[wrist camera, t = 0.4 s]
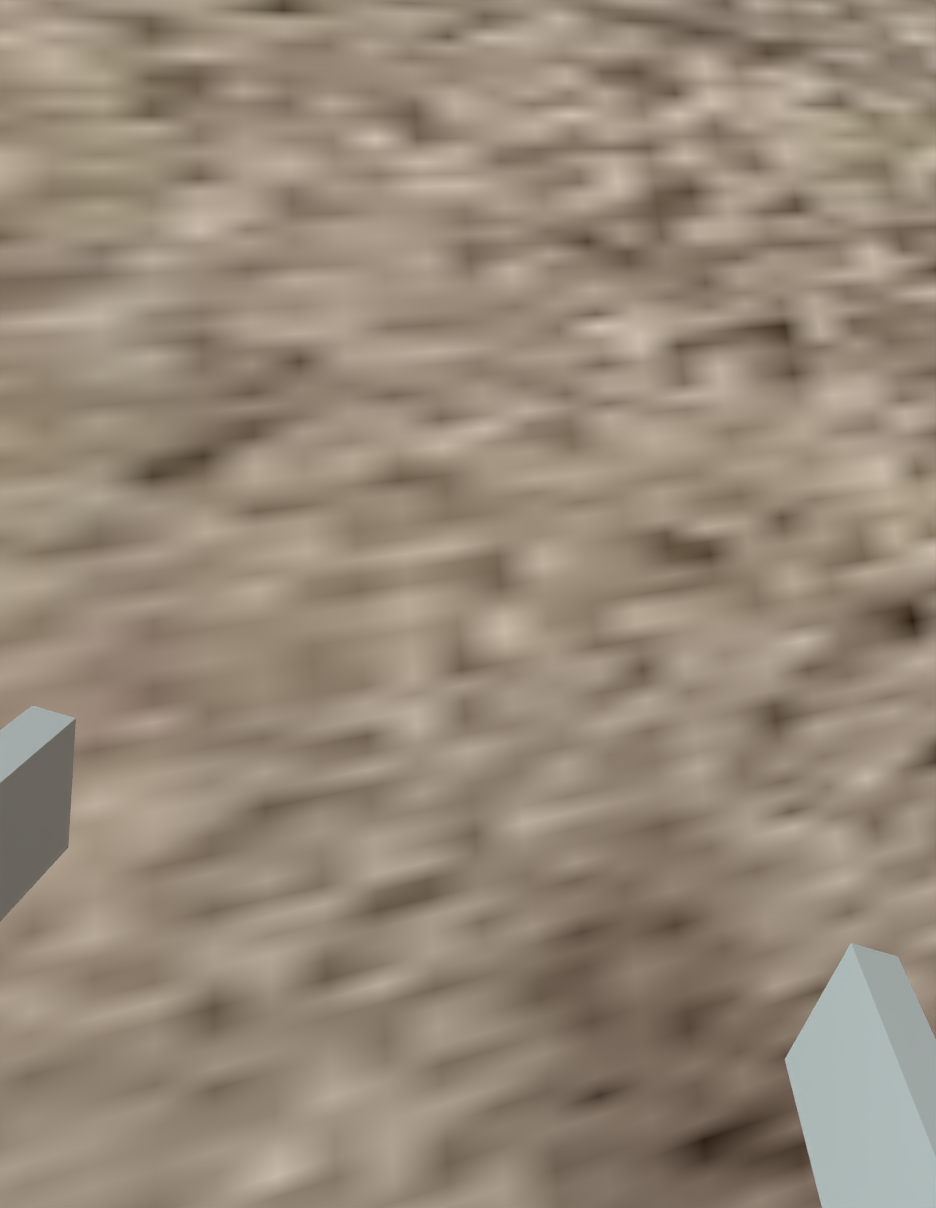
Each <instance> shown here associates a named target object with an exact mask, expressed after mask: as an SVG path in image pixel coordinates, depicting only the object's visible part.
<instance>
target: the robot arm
mask: <svg viewBox="0 0 936 1208" xmlns="http://www.w3.org/2000/svg"><path fill="white" fill-rule="evenodd" d="M75 724H76V718H73V717H70V716H66V715H63V714H59V713H56V712H53V711H49V710H46V709H42V708H39V707H35V706H31V707H30V708H28V709H27V710H26V711H25V712H23V713H22V714H21V715H19V716H18V717H17V718H15V719H14V720H13V721H11V722H10V723H9V724H8V725H6V726H5V727H4V728H2V729H1V730H0V921H1V920H2V919H3V918H4V917H5V916H6V915H7V914H8V912H9V911H10V910H11V909H12V908H13V907H14V906H15V905H16V904H17V903H18V902H19V900H20V899H21V898H22V897H23V896H24V895H25V894H26V893H27V892H28V891H29V890H30V888H31V887H32V886H33V885H34V884H35V883H36V882H37V881H38V880H39V879H40V878H41V876H42V875H43V874H44V873H45V872H46V871H47V870H48V869H49V868H50V867H51V866H52V864H53V863H54V862H55V861H56V860H57V859H58V858H59V857H60V856H61V855H62V854H63V852H64V851H65V850H66V849H67V848H68V842H69V825H70V808H71V791H72V775H73V758H74V741H75ZM785 1063H786V1067H787V1071H788V1075H789V1079H790V1083H791V1087H792V1091H793V1094H794V1098H795V1102H796V1106H797V1110H798V1114H799V1118H800V1122H801V1126H802V1130H803V1134H804V1138H805V1142H806V1146H807V1150H808V1154H809V1158H810V1162H811V1166H812V1170H813V1174H814V1178H815V1182H816V1186H817V1190H818V1194H819V1198H820V1202H821V1206H822V1208H936V1039H935V1037H934V1035H933V1032H932V1030H931V1028H930V1026H929V1024H928V1021H927V1019H926V1017H925V1015H924V1013H923V1010H922V1008H921V1006H920V1004H919V1002H918V999H917V997H916V995H915V993H914V991H913V989H912V986H911V984H910V982H909V980H908V978H907V975H906V973H905V971H904V969H903V967H902V964H901V962H900V960H899V958H898V957H897V956H894V955H890V954H887V953H883V952H880V951H877V950H873V949H870V948H866V947H863V946H859V945H856V944H852V943H851V944H850V946H849V948H848V949H847V951H846V953H845V955H844V956H843V958H842V960H841V962H840V963H839V965H838V967H837V969H836V970H835V972H834V974H833V976H832V977H831V979H830V981H829V983H828V984H827V986H826V988H825V990H824V991H823V993H822V995H821V997H820V998H819V1000H818V1002H817V1004H816V1005H815V1007H814V1009H813V1011H812V1012H811V1014H810V1016H809V1018H808V1019H807V1021H806V1023H805V1025H804V1026H803V1028H802V1030H801V1032H800V1033H799V1035H798V1037H797V1039H796V1040H795V1042H794V1044H793V1046H792V1047H791V1049H790V1051H789V1053H788V1055H787V1056H786V1058H785Z"/></svg>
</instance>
